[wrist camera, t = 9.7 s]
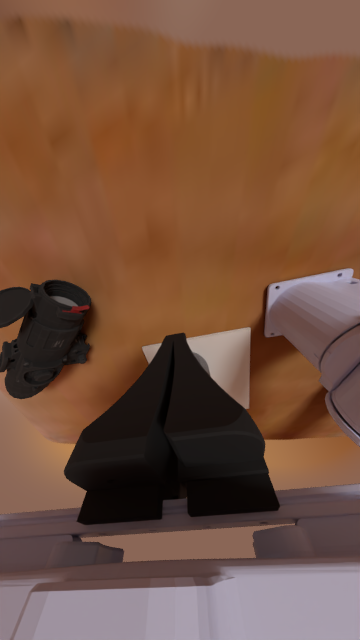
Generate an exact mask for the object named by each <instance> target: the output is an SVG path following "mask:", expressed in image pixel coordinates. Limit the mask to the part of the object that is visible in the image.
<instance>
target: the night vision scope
mask: <svg viewBox="0 0 360 640" xmlns="http://www.w3.org/2000/svg"><path fill="white" fill-rule="evenodd" d="M30 290H31V291H29V290H28V289H26V288H23V287H12V288H8V289H4V290H1V291H0V328H2V327H6V326H9V325H10V324H12V323H14V322H15V321H17V320H19V319H20V318H22V317H24V319H23V322H22V325H21V328H20V331H19V334H18V337H17V339H15V340H12V342H11V343H8V342H4V343H3V346H2V352H1V354H0V372H4V371H5V370H6V369H7V374H6V377H5V386H6V389H7V391H8V392H9V394H10V395H11V396H13V397H14V398H19V399H25V398H30V397H32V396H34V395H36V394H38V393H39V392H41V391H42V390H43V389H44V388H45V387H47V386H48V384H49V383H50V382H51V381H53V380H54V379H55V378H56V377H57V376H58V375H59V373H60V372H61V370H62V368H63V366H64V365H69V364H76V363H82V364H83V363H85V362H86V361H87V359H86V354H87V352H88V350H89V348H90V345H89V344H88V345H86V344H85V343H84V341H85V339H86V337H87V336H86V335H85V334H78V333H79V332H80V330H81V328H82V326H83V323H84V320H83V318H84V316H85V315H86V313H87V311H88V309H89V308H90V306H91V298H90V296H89V295H88V294H87V292H86V291H84V290H83V289H82V288H80V287H78V286H76V285H74V284H72V283H69V282H66V281H61V280H48V281H45V282H44V283H42V284H41V285H38V284H32V283H31V286H30Z"/></svg>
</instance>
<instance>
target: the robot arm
mask: <svg viewBox="0 0 360 640" xmlns="http://www.w3.org/2000/svg"><path fill="white" fill-rule="evenodd" d="M338 274H339V275H338ZM352 275H353V269H350V268H347V269H342V270H337V271H333V272H328V273H323V274H318V275H313V276H308V277H303V278H298V279H293V280H288V281H283V282H278V283H273V284H270V285H269V286H268V289H267V302H266V315H265V329H264V335H265V336H266V337H274V336H279V335H284V336H285V337H286V338H287V339H288V340H289V341H290V342H291V343H292V344H293V345H294V346H295V347H296V348H297V349H298V350H299V351H300V352H301V353H302V354H303V355H304V356H305V357H306V358H307V359H308V360H309V361H310V362H311V363H312V364H313V365H314V366H315V367H316V368H317V369H318V370H319V371H320V372H321V373H322V376H321V378H320V379H319V382H320V383H321V384H322V385H323V386H324V387H325V388H326V389H327V390H328V391H329V392H328V393H327V394H326V397H325V403H326V406H327V409H328V411H329V413H330V415H331V416H332V418H333V419H334V421H335V422H336V423H337V424H338V426H339V427H340V428H341V429H342V431H343V432H344V433H345V434H346V435H347V436H348V437H349V438H350V439H351V440H352V441H353V442H354V443H356V444H357V445H358V446H359V447H360V280H359V279H355V278H352ZM276 286H278V287H277V288H276V289H275V287H276ZM271 333H272V334H271ZM264 451H265V441H264V439H263V437H262V434H261V433H260V431H259V429H258V427H257V425H256V424H255V422H254V421H253V419H252V418H251V416H250V415H249V413H248V412H247V411H246V409H245V408H244V407H243V406H242V405H240V404H239V403H238V402H237V401H236V400H234V399H233V398H232V397H231V396H230V395H229V394H228V393H227V392H225V391H224V390H223V389H222V388H221V387H220V386H219V385H218V384H217V383H216V382H215V381H214V380H213V379H212V378H211V376H210V375H209V374H208V373H207V372H206V371H205V369H204V368H203V367H202V366H201V364H200V363H199V362H198V360H197V359H196V357H195V356H194V354H193V352H192V351H191V349H190V347H189V345H188V343H187V340H186V335H185V333H179V334H173V335H168V336H166V337H165V338H164V340H163V342H162V344H161V346H160V348H159V349H158V351H157V353H156V354H155V356H154V358H153V359H152V361H151V362H150V364H149V365H148V367H147V368H146V370H145V371H144V372H143V374H142V375H141V376H140V377H139V379H138V380H137V381H136V382H135V383H134V384H133V385H132V386H131V388H130V389H129V390H128V391H127V392H126V393H125V394H124V395H123V396H122V397H121V398H120V399H119V400H118V401H117V402H116V403H115V404H114V405H112V406H111V407H110V408H109V409H108V410H107V411H106V412H105V413H103V414H102V415H101V416H100V417H99V418H97V419H96V420H95V421H94V422H92V423H91V424H90V425H89V426H88V427H86V428H85V429H84V430H83V431H82V433H81V435H80V437H79V439H78V441H77V443H76V445H75V448H74V450H73V452H72V454H71V456H70V458H69V460H68V463H67V465H66V467H65V470H64V474H65V476H66V478H67V479H68V480H69V481H71V482H72V483H74V484H76V485H77V486H79V487H81V488H83V489H84V490H86V491H87V492H86V495H85V498H84V501H83V504H82V507H81V508H70V509H59V510H47V511H36V512H23V513H13V514H0V640H360V484H348V485H336V486H325V487H313V488H302V489H290V490H278V491H274V488H273V485H272V483H271V481H270V477H269V475H268V473H269V471H268V468H267V465H266V463H265V460H264V457H263V456H264ZM186 497H187V498H186ZM292 523H295V525H289V526H280V527H275V528H270V529H265V530H260V531H255V532H254V533H253V539H254V542H253V547H254V550H255V555H256V558H240V559H239V558H238V559H193V560H192V559H190V560H160V561H140V562H139V561H138V562H122V561H123V555H124V551H123V549H120V548H113V547H109V546H105V545H103V544H100V543H99V542H82V540H81V538H83V537H98V536H113V535H128V534H141V533H142V534H143V533H156V532H157V533H158V532H173V531H187V530H202V529H216V528H232V527H247V526H262V525H276V524H292Z"/></svg>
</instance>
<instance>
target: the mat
mask: <svg viewBox="0 0 360 640" xmlns="http://www.w3.org/2000/svg"><path fill="white" fill-rule="evenodd" d="M250 336H251V329H250V327H248V328H242V329H237V330H231V331H225V332H220V333H214V334H209V335H203V336H198V337H192V338H187V339H186V340H187V343H188V345H189V347H190V349H191V351H192V352H194V353H197V354H199V355H200V356H202V357H203V358H204V359H205V360H206V362H207V364H208V367H209V371H210V376H211V378H212V379H213V380H214V381H215V382H216V383H217V384H218V385H219V386H220V387H221V388H222V389H223V390H224V391H225V392H227V393H228V394H229V395H230V396H231V397H232V398H233V399H234V400H236V401H237V402H238V403H239V404H240V405H242V406H243V407H244V408H245V409H249V383H250ZM161 344H162V343H159V344H154V345H148V346H142V350H143V352H144V354H145V356H146V359H147V361H148V363H149V364H150V362H151V361H152V359H153V358H154V356H155V354H156V353H157V351H158V349H159V348H160V346H161Z"/></svg>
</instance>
